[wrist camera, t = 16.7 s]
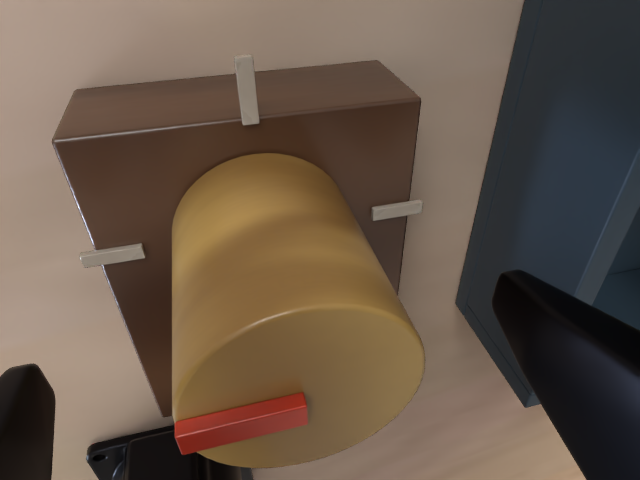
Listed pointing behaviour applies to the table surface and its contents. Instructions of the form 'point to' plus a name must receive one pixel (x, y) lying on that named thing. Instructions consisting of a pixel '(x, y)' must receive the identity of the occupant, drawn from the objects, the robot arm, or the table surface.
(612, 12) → the basin
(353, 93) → the panel
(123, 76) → the table surface
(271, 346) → the tap knob
